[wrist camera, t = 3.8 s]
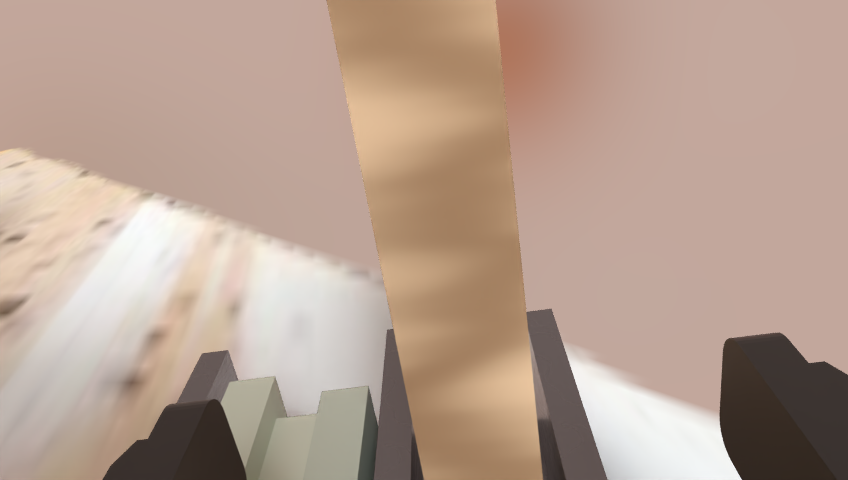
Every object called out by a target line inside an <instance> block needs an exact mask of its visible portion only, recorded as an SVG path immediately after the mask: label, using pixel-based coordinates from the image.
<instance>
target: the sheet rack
mask: <svg viewBox="0 0 848 480" xmlns="http://www.w3.org/2000/svg"><path fill="white" fill-rule="evenodd" d="M526 313H527V323H528V333H529V343H530V354H531V364H532V374H533V384H534V394H535V404H536V414H537V424H538V434H539V444H540V454H541V464H542V474H543V480H607V477H606V474H605V471H604V468H603V465H602V462H601V459H600V456H599V453H598V450H597V447H596V444H595V441H594V437H593V434H592V431H591V428H590V425H589V422H588V419H587V416H586V413H585V410H584V407H583V404H582V401H581V398H580V395H579V392H578V389H577V385H576V382H575V379H574V376H573V373H572V370H571V367H570V364H569V361H568V358H567V355H566V352H565V349H564V346H563V343H562V340H561V337H560V333H559V330H558V328H557V324H556V321H555V319H554V315H553V312H552V309H546V310H538V311H530V312H526ZM233 381H238V378H237V375H236V372H235V369H234V366H233V363H232V360H231V357H230V354H229V351H228V350H226V351H218V352H210V353H203V354H202V355H201V357H200V359H199V361H198V363H197V365H196V366H195V368H194V370H193V372H192V374H191V376H190V378H189V380H188V382H187V384H186V386H185V388H184V390H183V392H182V394H181V396H180V398H179V400H178V402H177V403H185V402H193V401H201V400H210V399H216V400H218V401H219V402H220V403H221V401H222V399H223V397H224V394H225V392H226V389H227V387H228V385H229V382H233ZM374 480H424V477H423V472H422V467H421V462H420V457H419V453H418V448H417V443H416V438H415V433H414V428H413V423H412V418H411V413H410V408H409V403H408V398H407V394H406V389H405V384H404V379H403V374H402V369H401V364H400V359H399V354H398V349H397V344H396V339H395V334H394V330H393V329H390V330H387V338H386V349H385V360H384V371H383V383H382V394H381V405H380V416H379V427H378V439H377V450H376V461H375V472H374Z"/></svg>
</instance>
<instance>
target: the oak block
mask: <svg viewBox="0 0 848 480" xmlns="http://www.w3.org/2000/svg"><path fill="white" fill-rule="evenodd" d="M327 5H328V10H329V14H330V19H331V24H332V29H333V34H334V39H335V44H336V49H337V54H338V58H339V63H340V68H341V73H342V79H343V83H344V88H345V93H346V98H347V102H348V108H349V113H350V117H351V122H352V128H353V133H354V138H355V143H356V147H357V152H358V157H359V162H360V167H361V172H362V177H363V182H364V187H365V192H366V197H367V202H368V206H369V211H370V216H371V221H372V226H373V231H374V236H375V241H376V245H377V251H378V256H379V260H380V266H381V270H382V275H383V280H384V285H385V290H386V295H387V300H388V305H389V310H390V315H391V320H392V325H393V330H394V334H395V339H396V344H397V349H398V354H399V359H400V364H401V369H402V374H403V379H404V384H405V389H406V394H407V398H408V403H409V408H410V413H411V418H412V423H413V428H414V433H415V438H416V443H417V448H418V453H419V457H420V462H421V467H422V472H423V477H424V480H543V474H542V464H541V454H540V444H539V434H538V424H537V414H536V404H535V394H534V384H533V374H532V364H531V354H530V343H529V333H528V323H527V313H526V304H525V293H524V283H523V273H522V263H521V253H520V243H519V234H518V223H517V213H516V203H515V192H514V182H513V172H512V162H511V152H510V143H509V132H508V122H507V112H506V102H505V92H504V82H503V72H502V62H501V52H500V42H499V33H498V21H497V12H496V2H495V0H327Z"/></svg>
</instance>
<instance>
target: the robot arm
mask: <svg viewBox="0 0 848 480" xmlns="http://www.w3.org/2000/svg"><path fill="white" fill-rule="evenodd" d="M720 427H721V433H722V437H723V441H724V445H725V448H726V450H727V453H728V455H729V457H730V459H731V461H732V463H733V465H734V466H735V468H736V470H737V472H738V474H739V475H740V477H741V479H742V480H848V375H847V374H845V373H843V372H842V371H840V370H838V369H836V368H835V367H833V366H832V365H830V364H828V363H826V362H816V363H808V362H807V361H806V360H805V358H804V357H803V356H802V355H801V354H800V353H799V351H798V350H797V349H796V348H795V347H794V346H793V344H792V343H791V342H790V341H789V340H788V339H787V337H786V336H784V335H783V334H781V333H770V334H761V335H753V336H745V337H737V338H729V339H727V340H726V341H725V344H724V348H723V361H722V380H721V400H720ZM103 480H247V477H246V472H245V468H244V465H243V462H242V459H241V456H240V454H239V451H238V448H237V445H236V442H235V440H234V437H233V434H232V431H231V428H230V426H229V423H228V420H227V417H226V414H225V412H224V409H223V407H222V405H221V403H220V402H219V401H218V400H216V399H210V400H201V401H193V402H185V403H176V404H170V405H168V406H167V407H166V408H165V409H164V410H163V412H162V414H161V415H160V417H159V419H158V421H157V423H156V425H155V427H154V429H153V430H152V432H151V434H150V436H149V438H148V439H144V440H137V441H136V442H135V443H134V444H133V445H132V446H131V447H130V448H129V449H128V450H127V451H126V452H124V453H123V454H122V455H121V456H120V457H119V458H118V459H117V460H116V461H115V462H114V463H113V464H112V465H111V466H110V468H109V470H108V471H107V473H106V475H105V477H104V478H103Z"/></svg>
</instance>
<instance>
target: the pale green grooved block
mask: <svg viewBox="0 0 848 480" xmlns="http://www.w3.org/2000/svg"><path fill="white" fill-rule="evenodd" d="M221 405H222V407H223V409H224V412H225V414H226V417H227V420H228V423H229V426H230V428H231V431H232V434H233V437H234V440H235V442H236V445H237V448H238V451H239V454H240V456H241V459H242V462H243V465H244V468H245V472H246V477H247V480H374V472H375V461H376V450H377V439H378V425H377V420H376V416H375V412H374V407H373V403H372V399H371V394H370V390H369V386H363V387H355V388H347V389H339V390H331V391H322V393H321V398H320V402H319V407H318V412H317V414H311V415H302V416H294V417H287V414H286V411H285V407H284V404H283V401H282V398H281V394H280V391H279V388H278V385H277V381H276V378H275V376H273V377H265V378H257V379H249V380H241V381H233V382H229V385H228V387H227V389H226V392H225V394H224V397H223V399H222V401H221Z"/></svg>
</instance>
